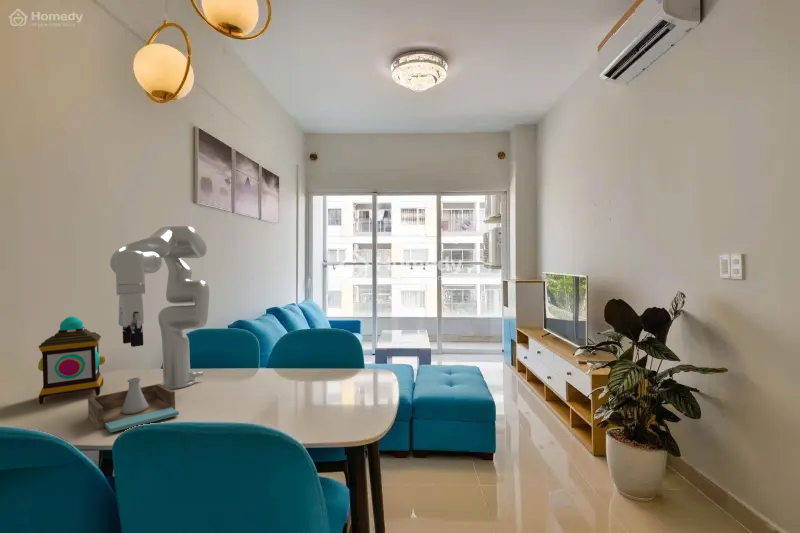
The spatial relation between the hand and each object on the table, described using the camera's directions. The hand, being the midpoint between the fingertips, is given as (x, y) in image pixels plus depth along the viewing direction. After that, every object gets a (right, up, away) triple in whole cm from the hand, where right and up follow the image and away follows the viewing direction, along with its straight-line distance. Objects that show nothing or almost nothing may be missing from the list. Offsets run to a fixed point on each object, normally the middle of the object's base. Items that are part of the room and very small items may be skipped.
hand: (133, 344), depth 127 cm
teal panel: (+5, -21, -4) cm, 21 cm away
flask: (+1, -21, 0) cm, 21 cm away
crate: (-1, -22, +2) cm, 22 cm away
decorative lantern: (-40, -25, +27) cm, 54 cm away
